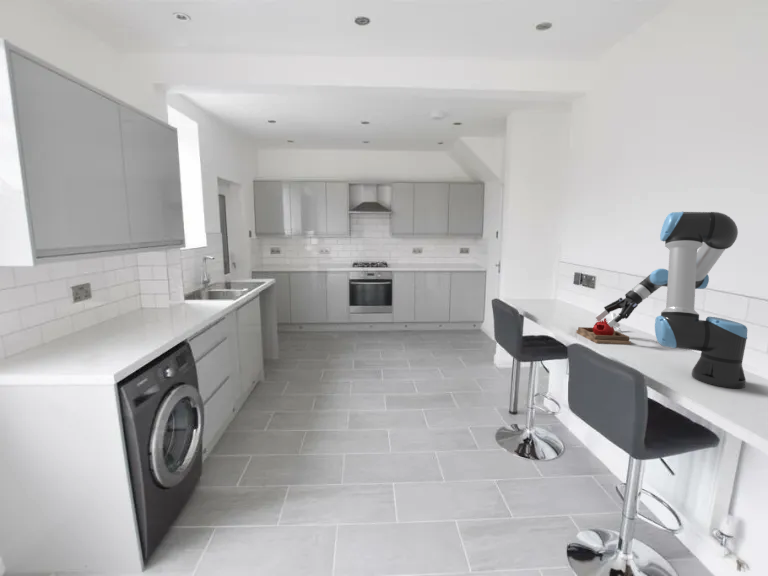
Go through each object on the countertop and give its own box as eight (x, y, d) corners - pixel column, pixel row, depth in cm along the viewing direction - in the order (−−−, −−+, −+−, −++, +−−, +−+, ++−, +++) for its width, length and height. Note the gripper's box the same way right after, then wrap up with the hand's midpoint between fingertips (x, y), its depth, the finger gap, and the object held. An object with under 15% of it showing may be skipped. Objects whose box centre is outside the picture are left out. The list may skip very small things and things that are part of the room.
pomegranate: (606, 333, 202) (608, 316, 201) (617, 338, 192) (620, 320, 191) (587, 332, 202) (590, 315, 201) (598, 337, 192) (600, 319, 191)
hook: (610, 318, 222) (620, 314, 216) (615, 337, 217) (625, 333, 211) (600, 316, 221) (610, 311, 215) (604, 335, 215) (614, 331, 209)
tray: (630, 344, 187) (631, 337, 187) (596, 343, 187) (597, 336, 187) (607, 333, 207) (608, 327, 206) (576, 332, 207) (576, 326, 207)
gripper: (656, 304, 180) (619, 333, 184) (628, 296, 205) (596, 322, 208) (646, 293, 180) (609, 322, 184) (619, 286, 205) (587, 312, 208)
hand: (602, 322), depth 196 cm, fingers open, 13 cm apart
